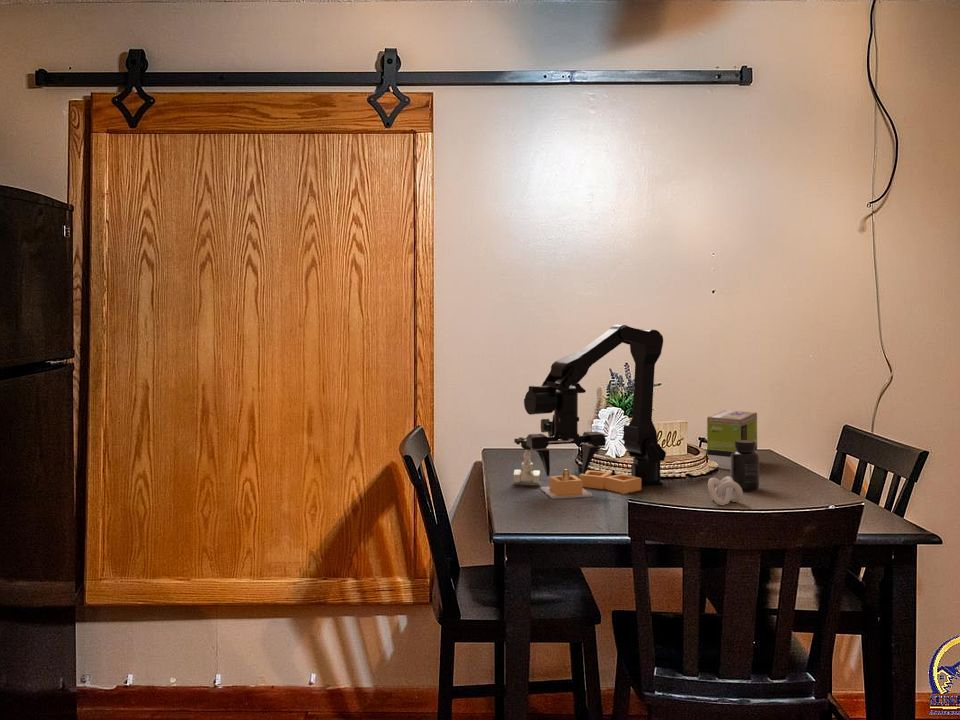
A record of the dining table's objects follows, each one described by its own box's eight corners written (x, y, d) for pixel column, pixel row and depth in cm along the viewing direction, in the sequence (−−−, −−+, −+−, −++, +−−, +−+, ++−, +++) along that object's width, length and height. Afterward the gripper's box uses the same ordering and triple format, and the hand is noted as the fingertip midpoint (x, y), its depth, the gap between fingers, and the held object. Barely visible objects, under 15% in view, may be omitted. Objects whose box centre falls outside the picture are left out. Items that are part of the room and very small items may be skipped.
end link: (573, 486, 202) (574, 475, 201) (582, 492, 195) (582, 480, 195) (549, 488, 200) (549, 476, 200) (557, 494, 194) (557, 482, 194)
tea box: (723, 458, 239) (724, 409, 238) (757, 462, 234) (759, 412, 233) (705, 467, 227) (706, 415, 226) (741, 471, 221) (742, 418, 220)
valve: (538, 488, 202) (538, 441, 201) (512, 487, 204) (512, 441, 203) (541, 483, 209) (541, 437, 208) (516, 482, 210) (516, 436, 209)
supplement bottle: (760, 486, 203) (761, 439, 202) (757, 492, 197) (758, 444, 196) (732, 484, 206) (732, 438, 205) (728, 490, 200) (729, 442, 199)
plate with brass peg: (578, 487, 204) (578, 464, 203) (591, 496, 194) (592, 472, 194) (540, 489, 202) (540, 466, 201) (552, 498, 192) (552, 474, 192)
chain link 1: (587, 481, 210) (588, 470, 210) (611, 483, 207) (611, 472, 207) (579, 486, 205) (579, 474, 204) (603, 489, 202) (603, 477, 201)
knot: (701, 498, 192) (702, 474, 192) (735, 498, 192) (736, 474, 192) (709, 506, 185) (710, 481, 184) (745, 506, 184) (745, 481, 184)
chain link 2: (622, 485, 206) (622, 473, 205) (641, 490, 200) (641, 478, 200) (604, 489, 202) (604, 477, 201) (623, 493, 197) (623, 481, 196)
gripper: (590, 406, 206) (590, 466, 207) (520, 408, 202) (520, 470, 203) (606, 412, 195) (606, 475, 197) (532, 415, 191) (532, 479, 193)
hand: (565, 474), depth 198 cm, fingers open, 9 cm apart
